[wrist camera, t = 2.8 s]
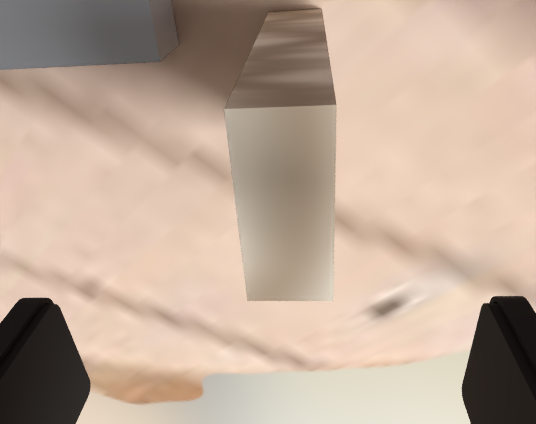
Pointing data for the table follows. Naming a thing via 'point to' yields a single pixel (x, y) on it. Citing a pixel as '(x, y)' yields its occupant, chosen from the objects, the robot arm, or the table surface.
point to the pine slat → (285, 160)
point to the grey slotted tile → (84, 32)
